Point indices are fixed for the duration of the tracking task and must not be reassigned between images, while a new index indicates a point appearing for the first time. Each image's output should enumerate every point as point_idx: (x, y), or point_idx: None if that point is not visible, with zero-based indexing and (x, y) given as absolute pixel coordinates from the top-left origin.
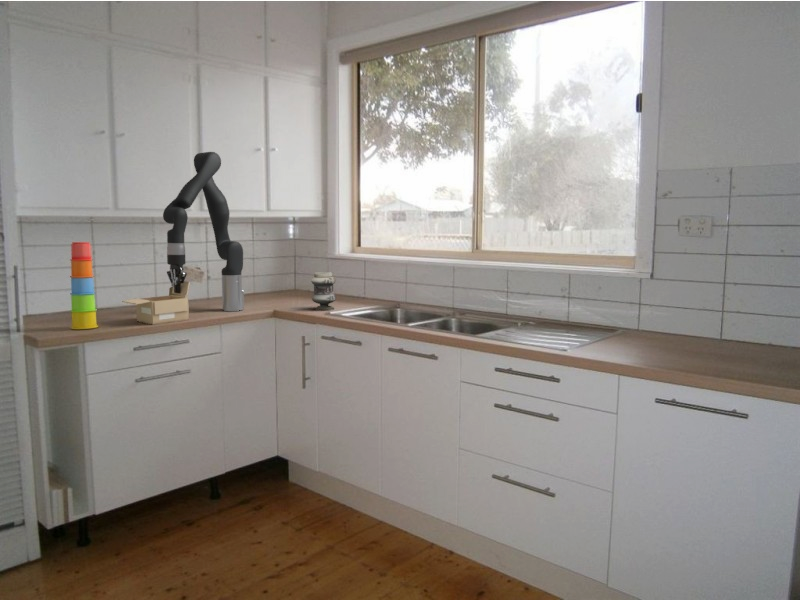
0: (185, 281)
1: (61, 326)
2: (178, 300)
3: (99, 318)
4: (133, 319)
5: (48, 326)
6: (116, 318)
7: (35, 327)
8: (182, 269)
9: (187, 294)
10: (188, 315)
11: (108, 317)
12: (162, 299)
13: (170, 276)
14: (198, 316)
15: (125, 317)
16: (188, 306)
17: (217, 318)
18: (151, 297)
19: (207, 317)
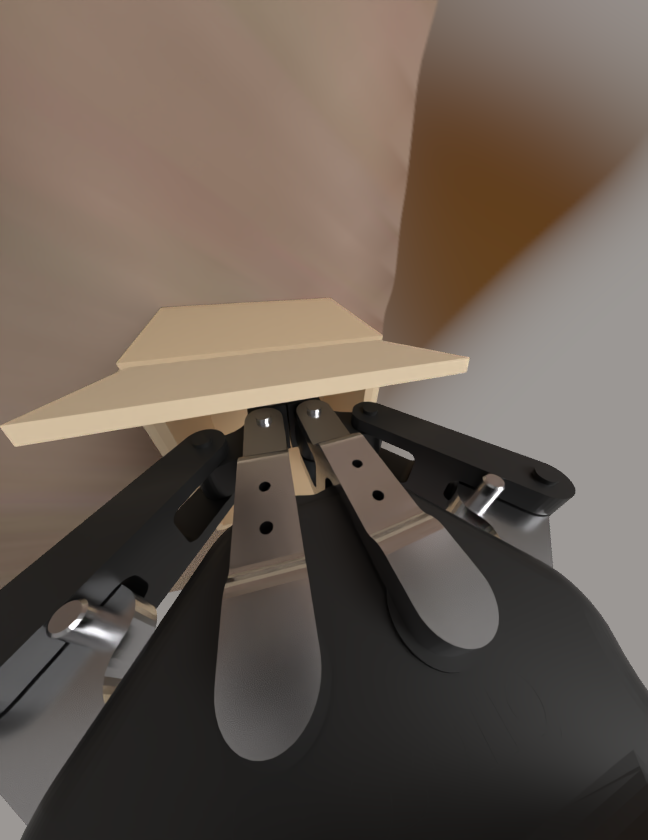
0: (392, 384)
1: (196, 563)
2: (373, 397)
3: (55, 528)
4: (153, 456)
5: (180, 576)
6: (85, 493)
7: (180, 586)
8: (555, 592)
9: (383, 341)
10: (337, 305)
11: (31, 511)
12: (176, 422)
13: (183, 563)
14: (231, 142)
15: (61, 471)
16: (356, 317)
17: (406, 105)
18: (199, 486)
19: (321, 126)
